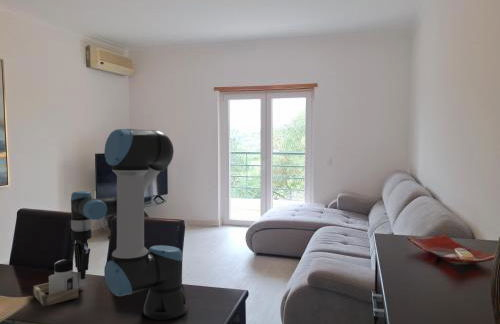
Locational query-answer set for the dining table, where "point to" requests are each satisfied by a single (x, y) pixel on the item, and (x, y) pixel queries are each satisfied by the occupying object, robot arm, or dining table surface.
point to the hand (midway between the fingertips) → (81, 286)
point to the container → (63, 277)
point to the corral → (55, 297)
